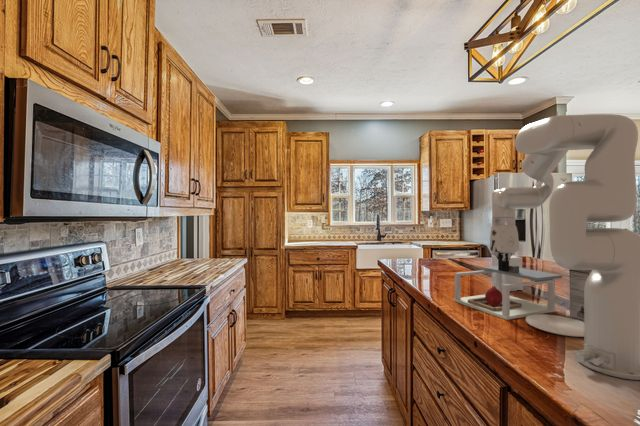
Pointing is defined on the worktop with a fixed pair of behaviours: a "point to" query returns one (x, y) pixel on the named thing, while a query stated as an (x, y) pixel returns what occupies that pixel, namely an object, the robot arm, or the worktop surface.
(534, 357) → the worktop surface
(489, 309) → the white tiered shelf stand
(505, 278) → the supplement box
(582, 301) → the coffee box
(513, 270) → the slide cover
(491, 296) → the onion
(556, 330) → the plate
